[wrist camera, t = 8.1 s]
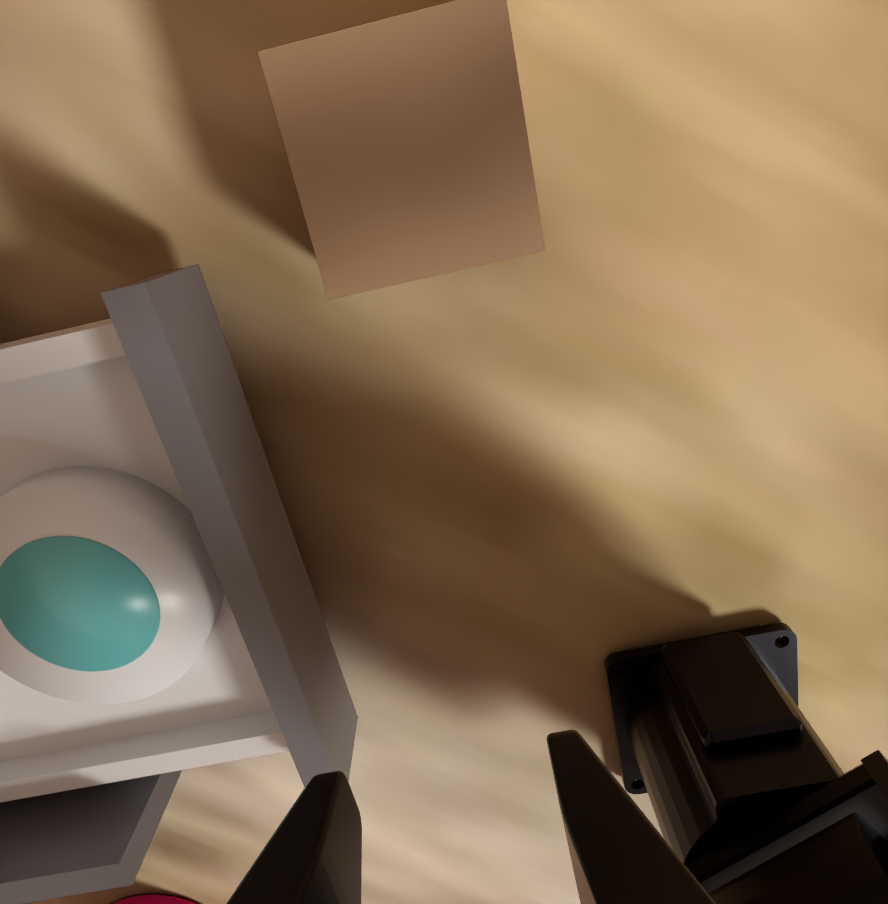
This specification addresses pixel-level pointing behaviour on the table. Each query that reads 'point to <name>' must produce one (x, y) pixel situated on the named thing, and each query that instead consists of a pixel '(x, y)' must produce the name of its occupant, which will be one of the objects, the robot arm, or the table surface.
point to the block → (408, 145)
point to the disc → (101, 586)
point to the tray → (221, 528)
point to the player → (79, 838)
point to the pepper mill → (153, 900)
